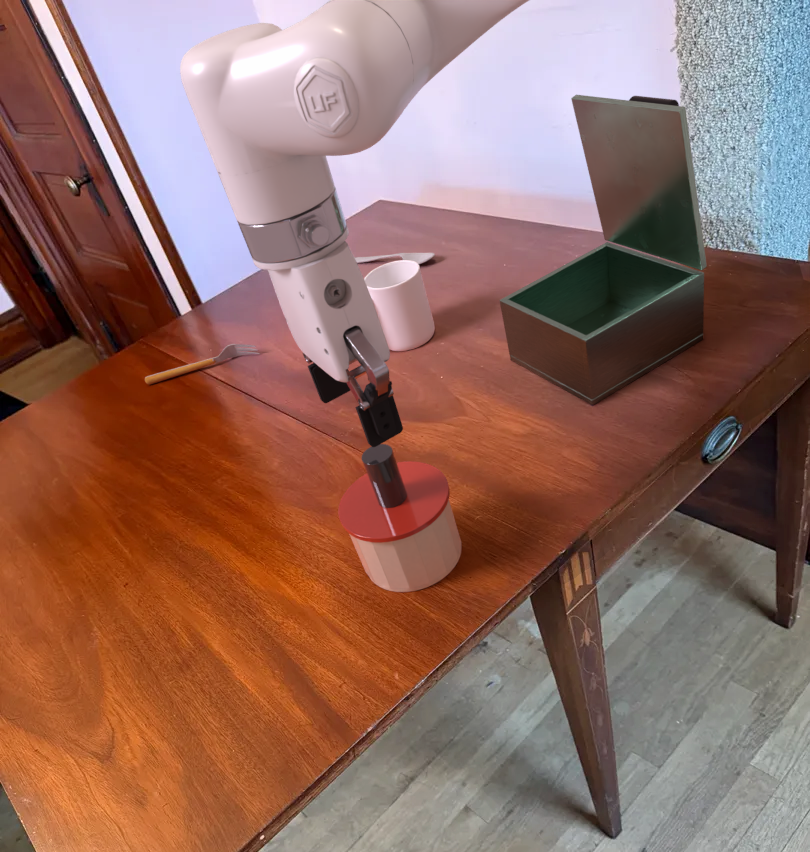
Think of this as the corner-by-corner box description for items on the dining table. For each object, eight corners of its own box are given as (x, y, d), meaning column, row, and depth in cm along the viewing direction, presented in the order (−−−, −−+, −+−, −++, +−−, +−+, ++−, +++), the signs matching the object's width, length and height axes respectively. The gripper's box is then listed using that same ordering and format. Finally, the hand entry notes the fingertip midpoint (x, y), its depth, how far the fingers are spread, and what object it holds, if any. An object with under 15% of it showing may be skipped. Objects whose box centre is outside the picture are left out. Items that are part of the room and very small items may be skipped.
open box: (592, 405, 89) (585, 340, 83) (510, 359, 100) (499, 300, 95) (703, 339, 92) (704, 272, 87) (611, 302, 104) (607, 241, 98)
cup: (446, 332, 110) (430, 267, 104) (379, 370, 108) (358, 306, 101) (417, 317, 116) (400, 255, 109) (352, 353, 113) (331, 291, 107)
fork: (141, 380, 122) (255, 344, 119) (141, 372, 123) (254, 336, 120) (149, 391, 124) (261, 355, 121) (150, 383, 125) (261, 348, 122)
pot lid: (460, 466, 76) (445, 413, 71) (439, 546, 68) (421, 491, 64) (358, 472, 79) (338, 422, 75) (328, 548, 72) (304, 497, 67)
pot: (469, 518, 80) (454, 465, 75) (451, 592, 73) (434, 538, 68) (379, 521, 84) (359, 470, 79) (354, 592, 77) (331, 541, 72)
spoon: (429, 269, 128) (427, 260, 126) (338, 266, 139) (335, 258, 138) (442, 257, 130) (440, 248, 129) (351, 255, 141) (348, 247, 140)
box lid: (679, 111, 73) (715, 83, 74) (570, 98, 85) (602, 74, 86) (701, 270, 86) (732, 246, 87) (604, 240, 98) (631, 219, 99)
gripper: (393, 231, 50) (446, 435, 61) (294, 187, 62) (354, 364, 73) (295, 279, 48) (369, 480, 60) (213, 224, 60) (287, 399, 72)
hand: (360, 416), depth 67 cm, fingers open, 9 cm apart
